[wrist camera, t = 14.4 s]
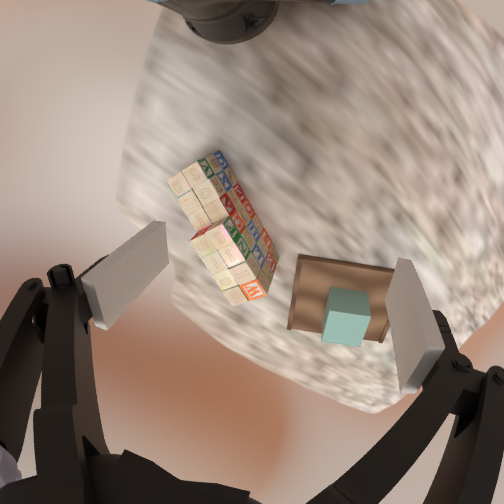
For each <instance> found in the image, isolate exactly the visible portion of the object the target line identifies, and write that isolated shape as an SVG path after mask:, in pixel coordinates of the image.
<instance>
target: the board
mask: <svg viewBox="0 0 504 504" xmlns="http://www.w3.org/2000/svg"><path fill="white" fill-rule="evenodd" d="M394 271H395V270H394V269H388V268H382V267H376V266H370V265H364V264H357V263H351V262H345V261H339V260H333V259H326V258H320V257H314V256H308V255H301V254H299V256H298V261H297V268H296V275H295V282H294V288H293V295H292V301H291V307H290V314H289V320H288V326H287V329H289V330H291V329H297V330H303V331H309V332H315V333H321V334H322V328H323V316H324V312H325V308H326V304H327V300H328V295H329V291H330V287H337V288H343V289H350V290H356V291H363V292H368V297H369V304H370V311H371V319H370V321H369V324H368V327H367V330H366V332H365V335H364V338H363V340H371V341H379V343H383V341H384V338H385V336H386V334H387V331H388V329H389V327H390V323H389V318H388V313H387V308H386V303H385V298H386V295H387V292H388V289H389V286H390V283H391V280H392V277H393V274H394Z"/></svg>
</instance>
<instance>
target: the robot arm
mask: <svg viewBox="0 0 504 504" xmlns="http://www.w3.org/2000/svg"><path fill="white" fill-rule="evenodd" d="M147 1H150V2H155V3H157V4H159V5H162V6H164V7H166V8H168V9H170V10H173V11H175V12H177V13H179V14H181V15H182V16H183V18H184V20H185V22H186V24H187V25H188V27H189V28H190V29H191V30H192V31H193V32H194V33H195V34H196V35H198V36H200V37H202V38H204V39H206V40H208V41H210V42H214V43H218V44H234V43H239V42H243V41H246V40H249V39H251V38H253V37H255V36H257V35H258V34H260V33H261V32H262V31H264V30H265V29H266V28H267V27H268V26H269V24H270V23H271V22H272V20H273V19H274V17H275V15H276V12H277V9H278V1H310V2H325V3H327V4H330V5H333V4H350V5H363V4H365V3H368V2H370V1H371V0H147ZM168 263H169V259H168V248H167V236H166V223H165V222H161V221H153V222H152V223H150V224H149V225H148V226H146V227H145V228H144V229H142V230H141V231H140V232H138V233H137V234H136V235H135V236H133V237H132V238H131V239H129V240H128V241H126V242H125V243H124V244H123V245H121V246H120V247H119V248H117V249H116V250H115V251H114V252H112V253H111V254H110V255H107V256H105V257H102V258H101V259H99V260H98V261H97V262H95V263H94V265H92V266H90V267H89V268H88V269H87V270H85V271H84V272H83V273H82V274H80V275H79V276H78V277H77V278H76V279H75V278H74V275H73V271H72V267H71V266H70V265H68V264H59V265H57V266H54V267H52V268H51V269H50V270H49V271H48V272H47V276H48V279H49V282H50V285H51V287H44V286H43V283H42V280H41V279H39V278H31V279H29V280H27V281H26V282H24V283H23V284H22V285H21V287H20V288H19V290H18V292H17V293H16V295H15V297H14V298H13V300H12V301H11V303H10V305H9V306H8V308H7V310H6V312H5V313H4V315H3V317H2V319H1V320H0V504H261V503H260V502H258V501H256V500H254V499H252V498H250V497H249V495H250V491H246V490H241V489H237V488H233V487H229V486H225V485H221V484H217V483H205V482H204V483H203V482H192V481H184V480H180V479H178V478H176V477H175V476H173V475H172V474H170V473H168V472H167V471H166V470H164V469H163V468H161V467H160V466H158V465H156V464H155V463H154V462H153V461H150V460H148V459H146V458H143V457H141V456H139V455H137V454H134V453H132V452H130V451H128V450H124V452H123V453H122V455H118V454H110V452H109V450H108V448H107V446H106V443H105V439H104V435H103V430H102V425H101V419H100V413H99V407H98V402H97V395H96V387H95V379H94V370H93V361H92V349H91V335H90V325H89V322H88V321H89V320H90V319H91V318H92V317H93V319H94V322H95V325H96V326H98V327H100V328H102V329H105V330H108V329H109V328H110V327H111V326H112V325H113V324H114V323H115V321H116V320H117V319H118V318H119V317H120V316H121V315H122V314H123V312H124V311H125V310H126V309H127V308H128V307H129V306H130V304H131V303H132V302H133V301H134V300H135V299H136V298H137V297H138V296H139V295H140V294H141V292H142V291H143V290H144V289H145V288H146V287H147V286H148V285H149V284H150V283H151V282H152V281H153V280H154V278H155V277H156V276H157V275H158V274H159V273H160V272H161V271H162V270H163V269H164V268H165V267H166V266H167V265H168ZM385 303H386V308H387V313H388V318H389V323H390V329H391V334H392V340H393V346H394V352H395V358H396V365H397V372H398V380H399V388H400V393H417V391H418V390H419V388H420V387H421V385H422V387H423V391H422V392H421V393H420V395H419V396H418V397H417V398H416V400H415V401H414V402H413V403H412V405H411V406H410V407H409V408H408V409H407V411H406V412H405V413H404V414H403V415H402V416H401V417H400V419H399V420H398V421H397V422H396V423H395V424H394V425H393V427H392V428H391V429H390V430H389V431H388V432H387V433H386V434H385V435H384V436H383V437H382V438H381V439H380V440H379V441H378V442H377V443H376V445H374V446H373V447H372V448H371V449H370V450H369V451H368V452H367V454H365V455H364V456H363V457H362V458H361V459H360V460H359V461H358V462H357V463H356V464H355V465H354V466H352V467H351V468H350V469H349V470H348V471H347V472H346V473H345V474H343V475H342V476H341V477H340V478H339V479H338V480H336V481H335V482H334V483H333V484H331V485H329V486H328V487H327V488H326V489H324V490H323V491H322V492H320V493H319V494H318V495H316V496H315V497H314V498H313V499H311V500H310V501H308V502H307V503H306V504H378V503H379V502H380V501H381V500H382V499H383V498H384V497H385V496H386V495H387V494H388V493H389V492H390V491H391V490H392V489H393V487H394V486H395V485H396V484H397V483H398V482H399V481H400V479H401V478H402V477H403V476H404V475H405V474H406V472H407V471H408V470H409V469H410V467H411V466H412V465H413V464H414V463H415V461H416V460H417V459H418V457H419V456H420V455H421V453H422V452H423V451H424V450H425V448H426V447H427V445H428V444H429V443H430V441H431V440H432V439H433V437H434V436H435V434H436V433H437V431H438V430H439V428H440V427H441V425H442V424H443V422H444V421H445V419H446V417H447V416H448V414H449V413H451V414H454V415H456V416H455V420H454V423H453V427H452V430H451V434H450V437H449V440H448V443H447V446H446V449H445V451H444V454H443V457H442V460H441V462H440V465H439V468H438V471H437V473H436V475H435V478H434V480H433V482H432V485H431V487H430V489H429V492H428V494H427V496H426V498H425V500H424V502H423V504H491V501H492V498H493V494H494V491H495V487H496V484H497V480H498V476H499V472H500V467H501V462H502V458H503V452H504V369H503V368H502V367H499V366H492V367H490V368H489V370H488V371H487V372H486V373H484V372H481V371H478V370H475V369H473V366H472V363H471V361H470V360H469V359H468V358H467V357H466V356H465V355H463V354H461V353H459V351H458V348H457V345H456V343H455V340H454V337H453V335H452V334H451V329H450V327H449V324H448V322H447V319H446V318H445V316H444V315H443V314H442V313H441V312H440V311H437V310H432V308H431V306H430V303H429V301H428V298H427V296H426V293H425V291H424V288H423V286H422V284H421V281H420V279H419V277H418V274H417V272H416V270H415V268H414V265H413V263H412V261H411V260H409V259H403V258H398V261H397V264H396V267H395V271H394V274H393V277H392V280H391V283H390V286H389V289H388V292H387V295H386V298H385ZM32 319H33V324H32ZM41 371H42V383H41V408H40V409H36V410H35V411H34V415H33V430H34V449H35V461H36V471H37V475H36V476H32V477H29V478H25V479H21V478H22V475H21V472H20V471H19V470H18V469H17V462H18V460H19V457H20V454H21V451H22V446H23V443H24V438H25V433H26V428H27V424H28V419H29V415H30V411H31V406H32V403H33V399H34V395H35V392H36V388H37V384H38V381H39V378H40V374H41Z"/></svg>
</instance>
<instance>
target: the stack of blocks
mask: <svg viewBox="0 0 504 504" xmlns="http://www.w3.org/2000/svg"><path fill="white" fill-rule="evenodd" d="M167 184H168V185H169V187H170V189H171V190H172V192H173V193H174V195H175V197H176V198H177V201H178V202H179V204H180V205H181V207H182V209H183V210H184V212H185V214H186V215H187V217H188V219H189V220H190V222H191V223H192V225H193V226H194V228H195V229H196V231H197V232H198V233H196V235H195V236H194V237H193V238H192V239H191V240H190V243H191V244H192V246H193V247H194V249H195V250H196V252H197V254H198V255H199V257H200V258H201V259H202V261H203V262H204V264H205V265H206V267H207V268H208V270H209V271H210V273H211V274H212V276H213V278H214V279H215V281H216V282H217V284H218V285H219V287H220V288H221V290H222V291H223V294H224V295H225V297H226V298H227V300H228V301H229V303H230V304H231V306H236V305H239V304H242V303H246V302H248V301H251V300H254V299H258V298H260V297H263V296H266V295H267V293H268V290H269V287H270V284H271V281H272V278H273V275H274V271H275V268H276V265H277V263H278V259H279V255H278V254H277V252H276V250H275V248H274V246H273V244H272V241H271V240H270V238H269V236H268V234H267V232H266V231H265V229H264V227H263V225H262V223H261V221H260V219H259V218H258V216H257V214H256V213H255V212H254V210H253V208H252V207H251V205H250V203H249V201H248V199H247V198H246V197H245V195H244V193H243V191H242V189H241V188H240V186H239V184H238V181H237V179H236V178H235V176H234V174H233V172H232V171H231V169H230V167H229V166H228V164H227V162H226V160H225V159H224V157H223V155H222V154H221V152H220V151H219V152H216V153H214V154H211V155H208V156H206V157H205V158H202V159H200V160H198V161H196V162H195V163H193V164H192V165H190V166H188V167H187V168H185V169H184V170H182V171H181V172H180V173H178V174H176V175H175V176H173V177H172V178H170V179H169V180H167Z"/></svg>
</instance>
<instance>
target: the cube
mask: <svg viewBox="0 0 504 504" xmlns="http://www.w3.org/2000/svg"><path fill="white" fill-rule="evenodd" d="M370 319H371V311H370V304H369V297H368V292H363V291H356V290H350V289H343V288H337V287H330V291H329V295H328V300H327V304H326V308H325V312H324V316H323V328H322V340H321V342H327V343H334V344H341V345H348V346H356V347H360V345H361V343H362V340H363V338H364V335H365V332H366V330H367V327H368V324H369V321H370Z"/></svg>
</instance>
